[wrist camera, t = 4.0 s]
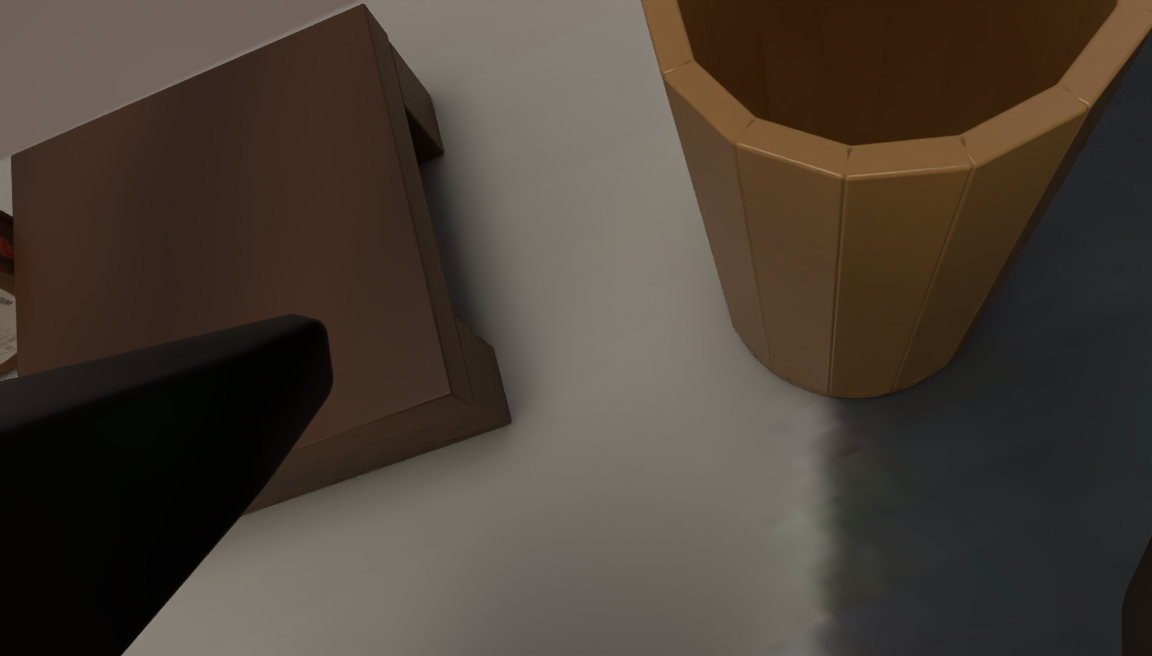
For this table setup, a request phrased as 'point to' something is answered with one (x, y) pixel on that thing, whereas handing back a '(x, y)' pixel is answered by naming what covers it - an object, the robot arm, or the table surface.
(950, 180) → the cup
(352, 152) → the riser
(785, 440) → the table surface
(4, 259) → the tin
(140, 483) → the robot arm
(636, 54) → the table surface
